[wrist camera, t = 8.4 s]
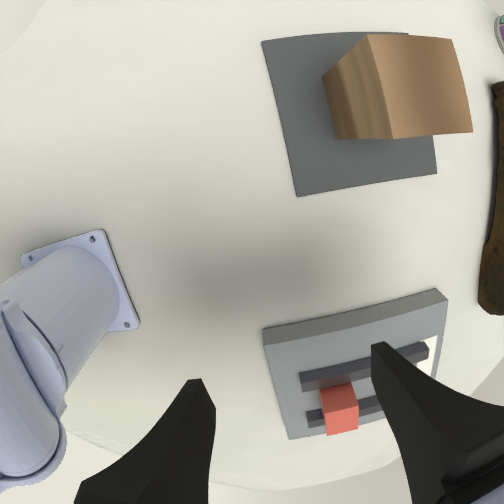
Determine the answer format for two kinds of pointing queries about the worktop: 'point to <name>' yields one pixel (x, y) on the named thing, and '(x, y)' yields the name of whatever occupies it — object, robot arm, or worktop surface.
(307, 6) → the worktop surface
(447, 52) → the tan wooden post
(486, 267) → the hand tool
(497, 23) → the spray can
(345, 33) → the mat
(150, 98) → the worktop surface
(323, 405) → the lever
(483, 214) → the worktop surface
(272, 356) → the panel
